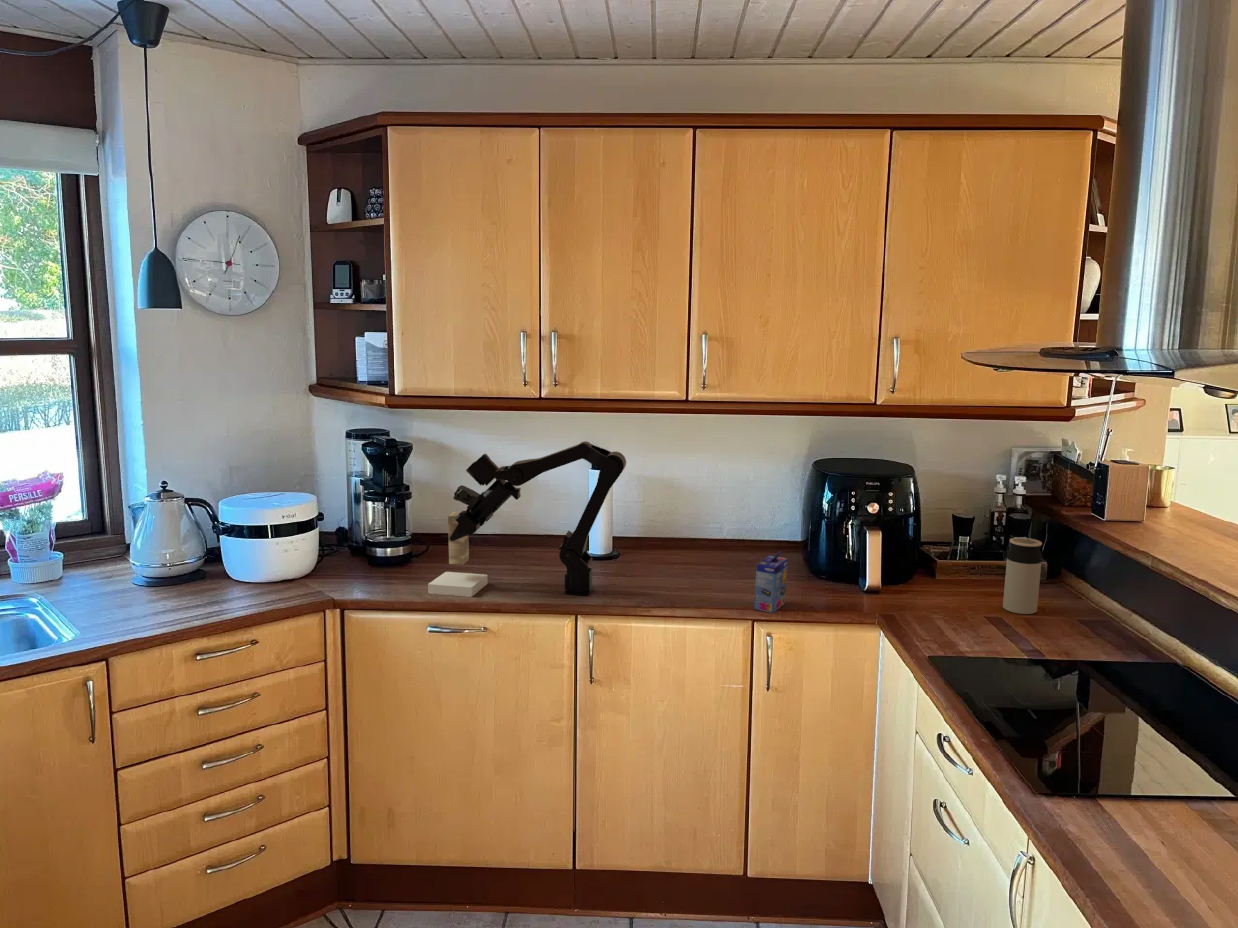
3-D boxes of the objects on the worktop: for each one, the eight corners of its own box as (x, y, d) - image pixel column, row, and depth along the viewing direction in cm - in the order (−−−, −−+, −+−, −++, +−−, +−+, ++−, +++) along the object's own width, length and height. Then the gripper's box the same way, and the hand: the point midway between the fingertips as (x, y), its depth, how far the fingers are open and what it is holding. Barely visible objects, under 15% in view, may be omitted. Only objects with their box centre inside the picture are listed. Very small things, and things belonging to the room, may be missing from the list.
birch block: (468, 559, 248) (468, 512, 246) (463, 564, 243) (462, 516, 241) (454, 558, 248) (453, 511, 246) (449, 563, 243) (447, 516, 241)
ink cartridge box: (774, 614, 227) (776, 557, 225) (753, 610, 230) (755, 554, 228) (786, 603, 236) (789, 548, 234) (766, 599, 239) (768, 545, 236)
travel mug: (1025, 617, 227) (1032, 546, 224) (996, 608, 234) (1002, 539, 231) (1043, 611, 232) (1049, 542, 229) (1013, 603, 238) (1019, 535, 235)
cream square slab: (487, 585, 249) (487, 574, 249) (471, 598, 238) (471, 587, 237) (446, 582, 252) (445, 571, 251) (428, 595, 240) (428, 584, 240)
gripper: (481, 470, 250) (442, 508, 253) (462, 482, 232) (420, 523, 235) (509, 499, 251) (471, 537, 254) (493, 514, 232) (451, 554, 235)
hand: (453, 537), depth 245 cm, fingers closed on birch block, 5 cm apart
